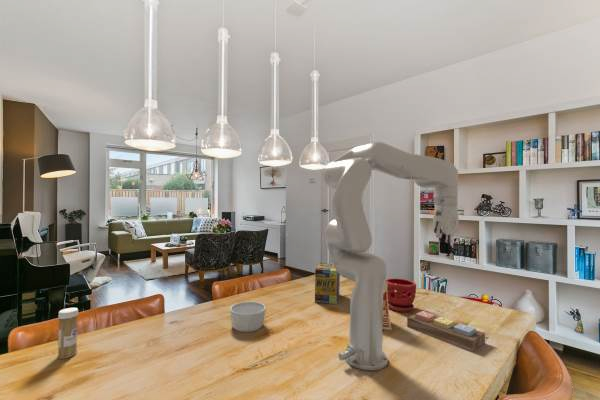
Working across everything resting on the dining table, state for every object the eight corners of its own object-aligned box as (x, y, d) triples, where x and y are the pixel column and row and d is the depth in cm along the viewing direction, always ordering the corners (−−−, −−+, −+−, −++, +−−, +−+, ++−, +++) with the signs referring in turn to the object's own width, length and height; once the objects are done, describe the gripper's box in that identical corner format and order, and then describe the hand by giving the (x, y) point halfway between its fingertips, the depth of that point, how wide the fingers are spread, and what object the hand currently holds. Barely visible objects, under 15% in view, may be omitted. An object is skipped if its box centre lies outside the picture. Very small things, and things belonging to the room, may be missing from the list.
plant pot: (420, 314, 123) (421, 285, 123) (389, 313, 123) (389, 285, 123) (409, 303, 136) (409, 277, 136) (381, 302, 136) (381, 277, 136)
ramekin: (272, 326, 109) (273, 307, 109) (243, 337, 99) (244, 317, 99) (251, 316, 118) (251, 298, 118) (222, 325, 108) (223, 307, 108)
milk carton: (391, 330, 107) (392, 275, 107) (366, 327, 109) (366, 274, 109) (389, 320, 116) (389, 270, 116) (365, 317, 118) (366, 268, 118)
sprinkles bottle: (72, 358, 84) (73, 312, 84) (53, 360, 83) (54, 313, 83) (80, 350, 89) (81, 306, 89) (63, 352, 88) (63, 307, 88)
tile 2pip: (447, 334, 100) (447, 324, 101) (433, 329, 104) (433, 319, 104) (454, 331, 104) (454, 320, 104) (440, 326, 107) (440, 316, 108)
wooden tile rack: (471, 351, 92) (471, 341, 92) (407, 326, 110) (407, 317, 110) (484, 343, 98) (484, 333, 98) (421, 320, 116) (421, 311, 116)
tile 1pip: (468, 342, 95) (469, 331, 95) (453, 337, 99) (453, 326, 99) (475, 338, 98) (475, 327, 98) (460, 333, 102) (460, 322, 102)
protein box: (314, 302, 135) (314, 269, 135) (319, 292, 150) (319, 262, 150) (337, 304, 132) (337, 270, 132) (339, 294, 147) (340, 263, 147)
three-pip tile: (428, 327, 106) (428, 317, 106) (415, 322, 110) (415, 313, 110) (435, 324, 109) (435, 314, 109) (422, 319, 113) (422, 310, 113)
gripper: (445, 202, 97) (445, 257, 97) (465, 202, 106) (465, 253, 106) (424, 201, 103) (423, 253, 103) (445, 202, 112) (444, 250, 112)
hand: (444, 253), depth 104 cm, fingers closed
